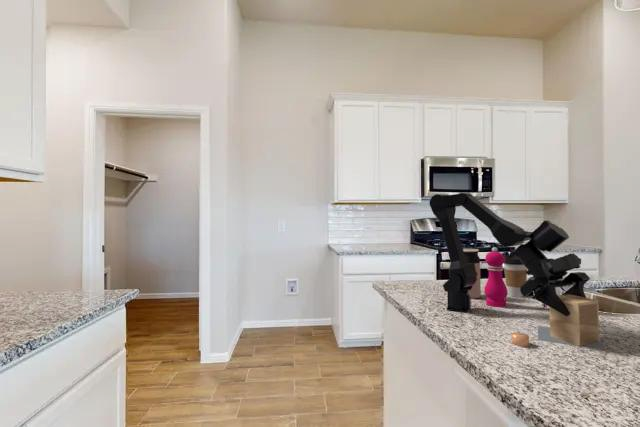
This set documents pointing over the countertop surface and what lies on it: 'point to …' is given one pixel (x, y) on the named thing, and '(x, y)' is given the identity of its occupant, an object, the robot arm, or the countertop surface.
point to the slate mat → (545, 336)
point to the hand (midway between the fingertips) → (579, 313)
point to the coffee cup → (514, 276)
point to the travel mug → (473, 257)
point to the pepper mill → (495, 280)
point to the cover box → (576, 321)
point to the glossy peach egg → (520, 339)
